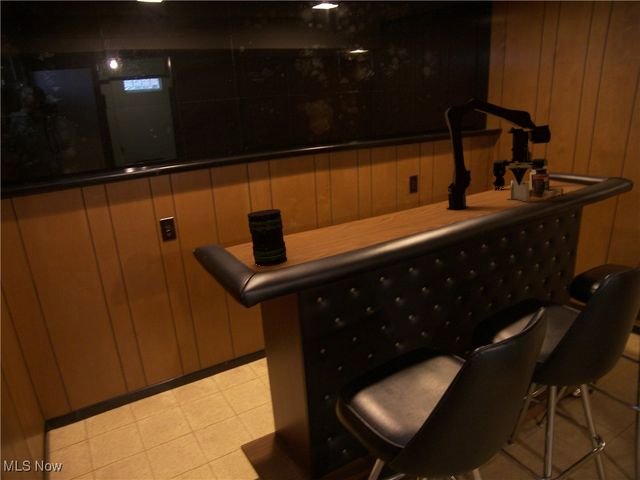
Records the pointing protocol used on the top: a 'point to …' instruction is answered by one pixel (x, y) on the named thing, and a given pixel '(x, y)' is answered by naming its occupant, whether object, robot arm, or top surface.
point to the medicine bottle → (534, 174)
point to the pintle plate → (512, 199)
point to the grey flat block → (519, 190)
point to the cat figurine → (499, 177)
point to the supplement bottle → (541, 182)
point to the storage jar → (267, 237)
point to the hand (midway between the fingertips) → (519, 185)
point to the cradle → (548, 194)
